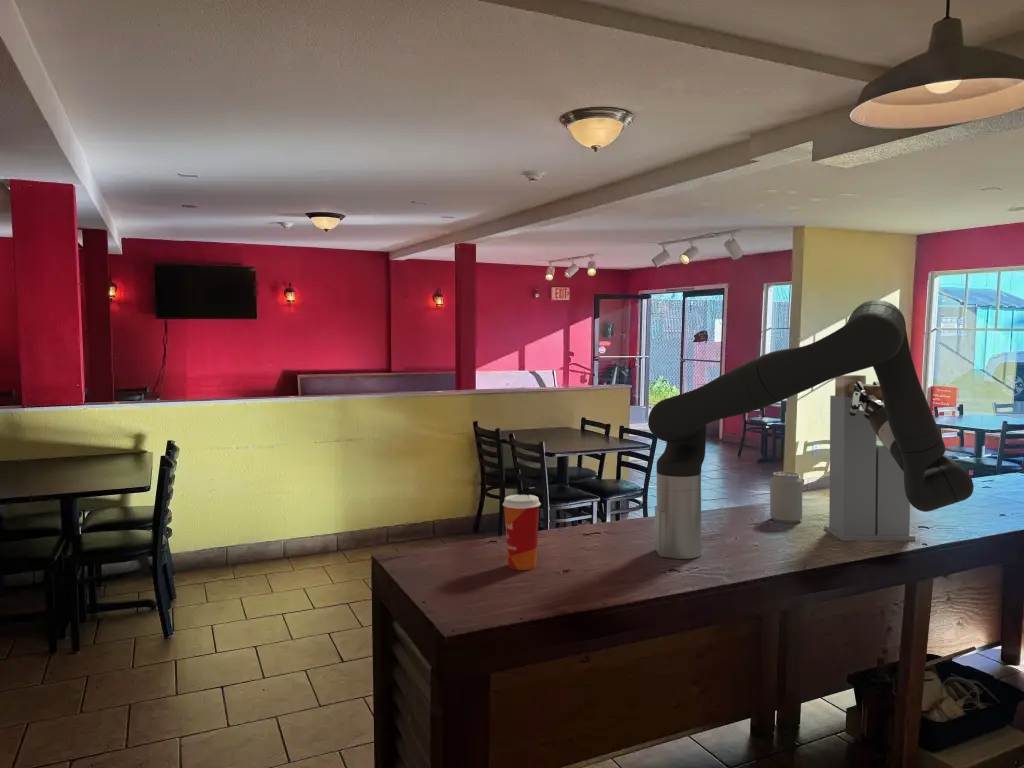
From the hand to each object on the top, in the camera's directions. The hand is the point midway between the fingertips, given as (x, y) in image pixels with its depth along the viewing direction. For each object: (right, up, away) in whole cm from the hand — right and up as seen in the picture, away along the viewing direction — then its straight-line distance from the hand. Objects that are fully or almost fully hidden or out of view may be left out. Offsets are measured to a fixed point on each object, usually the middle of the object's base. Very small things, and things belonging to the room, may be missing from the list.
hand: (865, 385), depth 155 cm
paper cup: (-75, -37, -12) cm, 85 cm away
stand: (+5, -35, +8) cm, 36 cm away
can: (-9, -34, +23) cm, 42 cm away
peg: (0, -3, +3) cm, 4 cm away
